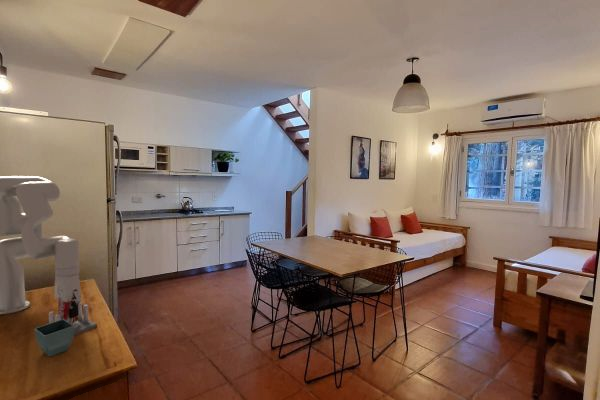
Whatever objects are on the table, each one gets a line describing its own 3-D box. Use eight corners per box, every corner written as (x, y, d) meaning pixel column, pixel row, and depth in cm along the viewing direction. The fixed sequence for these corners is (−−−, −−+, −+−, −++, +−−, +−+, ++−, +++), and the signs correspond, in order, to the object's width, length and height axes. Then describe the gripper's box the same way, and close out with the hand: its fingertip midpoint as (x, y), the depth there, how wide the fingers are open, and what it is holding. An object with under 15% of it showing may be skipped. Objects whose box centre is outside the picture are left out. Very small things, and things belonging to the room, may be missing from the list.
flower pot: (45, 362, 104) (44, 336, 103) (34, 353, 108) (33, 328, 108) (75, 350, 111) (74, 325, 110) (64, 342, 116) (63, 318, 115)
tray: (38, 330, 124) (37, 309, 123) (74, 317, 135) (74, 298, 135) (60, 341, 116) (59, 319, 116) (97, 326, 128) (96, 306, 127)
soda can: (70, 317, 129) (69, 289, 128) (82, 320, 127) (81, 291, 126) (54, 324, 123) (53, 294, 122) (67, 327, 121) (66, 296, 120)
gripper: (44, 269, 124) (46, 313, 126) (69, 277, 116) (70, 324, 118) (66, 264, 131) (67, 306, 132) (90, 271, 123) (91, 316, 124)
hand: (68, 314), depth 125 cm, fingers closed on soda can, 6 cm apart
